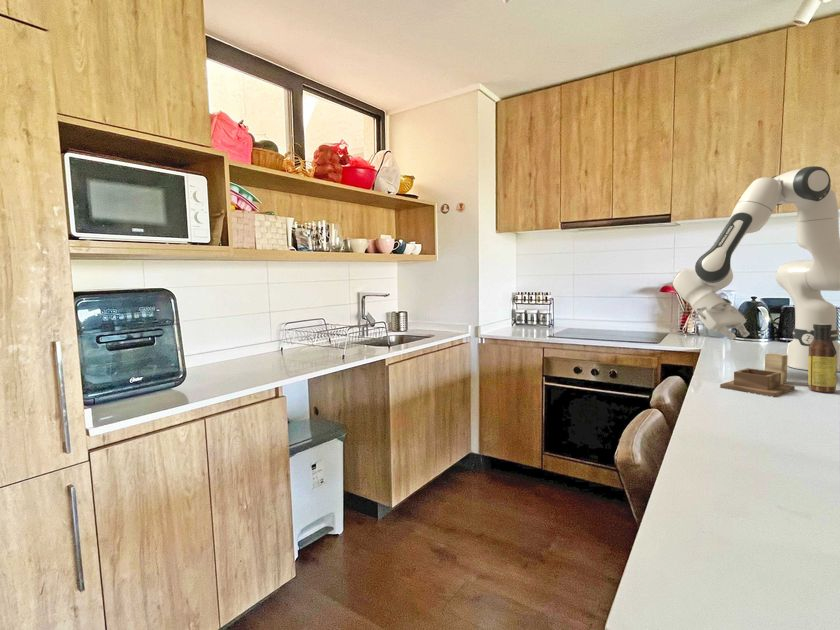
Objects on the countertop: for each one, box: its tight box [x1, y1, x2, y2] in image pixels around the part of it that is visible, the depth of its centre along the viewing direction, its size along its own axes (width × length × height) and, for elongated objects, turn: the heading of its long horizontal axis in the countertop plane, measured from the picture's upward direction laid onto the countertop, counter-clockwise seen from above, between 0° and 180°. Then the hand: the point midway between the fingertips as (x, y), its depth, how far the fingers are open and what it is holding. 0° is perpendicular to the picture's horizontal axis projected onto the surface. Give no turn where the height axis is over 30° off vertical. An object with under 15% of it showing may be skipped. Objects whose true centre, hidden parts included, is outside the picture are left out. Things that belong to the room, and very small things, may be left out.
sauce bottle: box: [807, 323, 838, 394], centre depth 131 cm, size 7×6×20 cm
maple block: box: [764, 352, 788, 384], centre depth 143 cm, size 4×4×9 cm
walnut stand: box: [719, 367, 796, 398], centre depth 136 cm, size 14×14×5 cm
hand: (740, 337), depth 151 cm, fingers open, 8 cm apart
